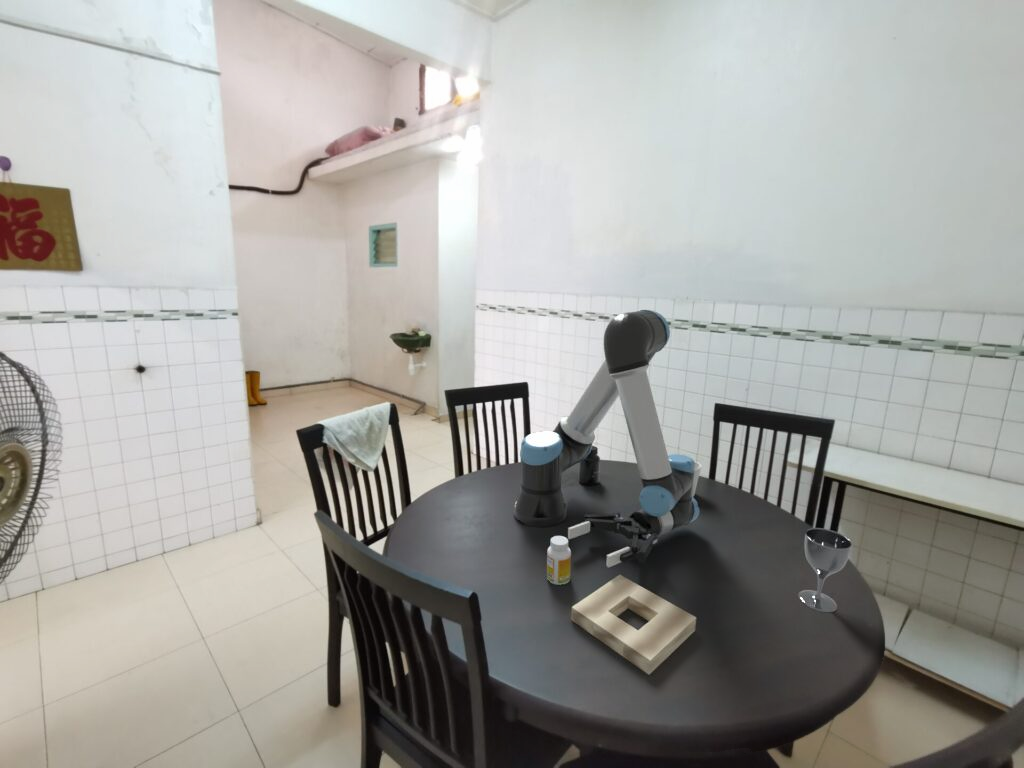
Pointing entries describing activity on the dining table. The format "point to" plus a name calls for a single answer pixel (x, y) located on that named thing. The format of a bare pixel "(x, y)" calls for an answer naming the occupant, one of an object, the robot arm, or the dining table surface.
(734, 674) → the dining table surface
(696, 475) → the dixie cup
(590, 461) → the supplement bottle
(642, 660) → the socket block
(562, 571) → the supplement bottle
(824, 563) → the wine glass
